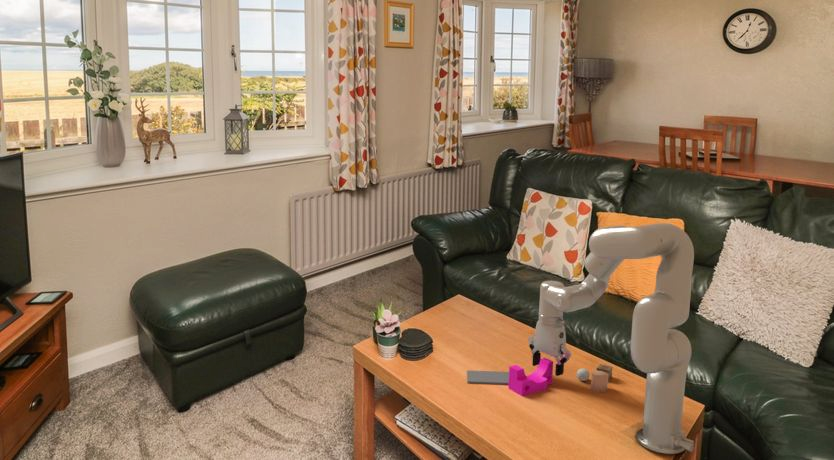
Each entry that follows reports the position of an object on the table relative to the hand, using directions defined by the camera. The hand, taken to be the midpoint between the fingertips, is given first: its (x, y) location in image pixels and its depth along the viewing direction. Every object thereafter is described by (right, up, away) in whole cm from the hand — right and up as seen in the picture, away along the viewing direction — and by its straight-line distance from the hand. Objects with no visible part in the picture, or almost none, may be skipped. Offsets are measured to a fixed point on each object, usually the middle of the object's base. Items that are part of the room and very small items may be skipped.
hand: (547, 369), depth 188 cm
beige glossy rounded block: (+15, -5, -6) cm, 17 cm away
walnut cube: (+19, -3, +2) cm, 19 cm away
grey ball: (+12, -4, 0) cm, 12 cm away
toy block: (-6, -5, -6) cm, 9 cm away
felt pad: (-18, -3, +1) cm, 18 cm away
